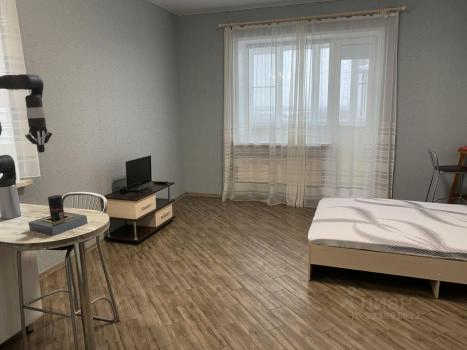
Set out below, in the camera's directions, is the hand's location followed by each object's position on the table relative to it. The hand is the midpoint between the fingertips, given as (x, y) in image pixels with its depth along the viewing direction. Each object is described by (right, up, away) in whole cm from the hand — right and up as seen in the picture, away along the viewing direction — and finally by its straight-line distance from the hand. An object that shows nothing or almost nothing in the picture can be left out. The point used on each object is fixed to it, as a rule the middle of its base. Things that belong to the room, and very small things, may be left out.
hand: (41, 152), depth 171 cm
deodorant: (+12, -36, -5) cm, 39 cm away
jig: (+12, -36, -5) cm, 38 cm away
